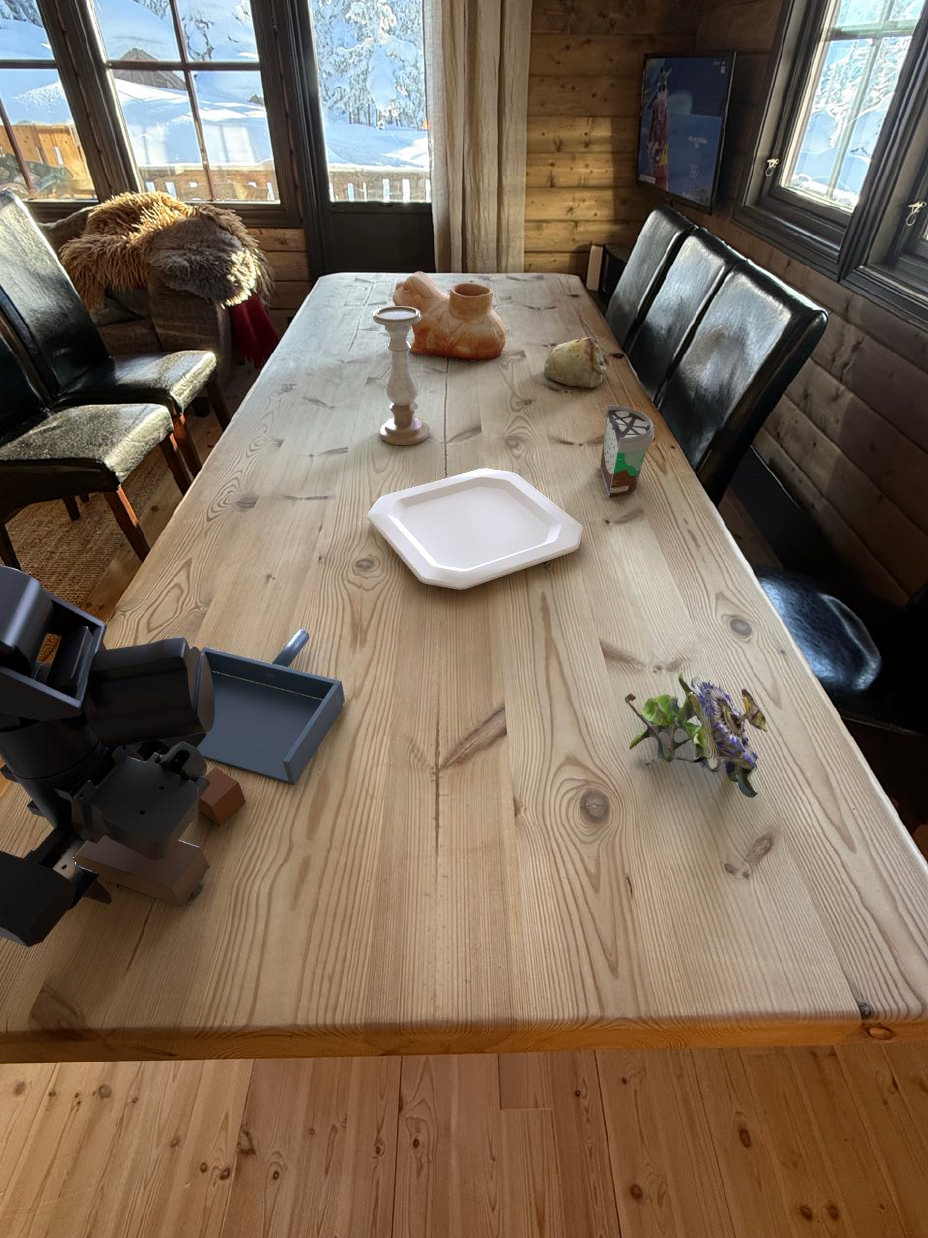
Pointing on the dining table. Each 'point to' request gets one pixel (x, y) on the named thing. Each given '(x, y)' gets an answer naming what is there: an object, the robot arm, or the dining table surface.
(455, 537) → the plate
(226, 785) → the crumb
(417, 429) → the candle holder
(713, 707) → the passion flower
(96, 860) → the brown long block
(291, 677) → the dustpan
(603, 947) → the dining table surface
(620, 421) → the food container
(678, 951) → the dining table surface
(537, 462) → the dining table surface
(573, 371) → the pastry
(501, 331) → the ceramic vessel
